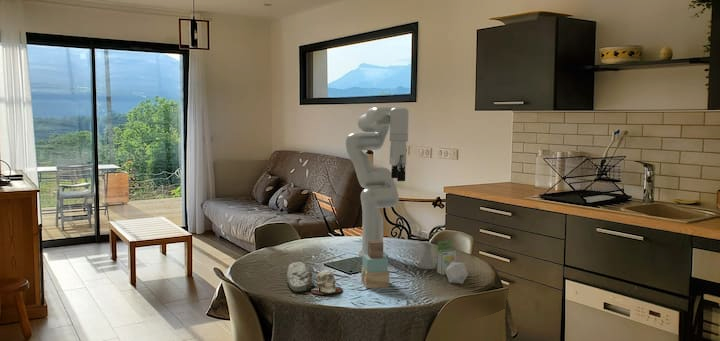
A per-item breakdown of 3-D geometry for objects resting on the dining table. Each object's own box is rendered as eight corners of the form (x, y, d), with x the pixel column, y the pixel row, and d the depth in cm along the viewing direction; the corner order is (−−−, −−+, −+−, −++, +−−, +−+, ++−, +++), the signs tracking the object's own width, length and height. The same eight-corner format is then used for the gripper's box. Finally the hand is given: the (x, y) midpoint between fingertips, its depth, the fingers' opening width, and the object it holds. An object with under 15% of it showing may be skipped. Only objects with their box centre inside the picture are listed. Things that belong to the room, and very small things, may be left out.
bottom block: (361, 281, 231) (361, 266, 230) (383, 280, 232) (383, 265, 232) (366, 288, 222) (366, 273, 221) (389, 287, 224) (389, 271, 223)
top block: (362, 267, 229) (362, 254, 229) (382, 265, 231) (382, 253, 231) (367, 272, 222) (367, 259, 221) (387, 271, 224) (387, 258, 223)
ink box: (442, 275, 239) (442, 243, 237) (436, 273, 242) (437, 241, 241) (456, 273, 242) (456, 241, 240) (450, 271, 245) (451, 239, 244)
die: (456, 288, 224) (471, 268, 225) (438, 274, 228) (453, 254, 228) (459, 290, 232) (474, 270, 232) (442, 276, 235) (456, 257, 236)
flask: (435, 270, 247) (435, 247, 246) (417, 269, 248) (418, 246, 247) (436, 266, 254) (437, 243, 253) (419, 264, 255) (420, 242, 254)
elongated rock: (308, 270, 250) (285, 272, 249) (308, 258, 250) (284, 260, 248) (315, 291, 216) (287, 294, 214) (314, 277, 215) (286, 280, 214)
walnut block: (367, 255, 228) (367, 239, 227) (380, 254, 229) (380, 239, 228) (370, 258, 223) (370, 242, 223) (383, 257, 224) (383, 242, 223)
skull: (349, 291, 214) (331, 272, 211) (329, 312, 213) (310, 293, 210) (340, 281, 226) (322, 263, 222) (320, 300, 224) (302, 282, 221)
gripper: (385, 136, 248) (384, 177, 250) (395, 139, 231) (394, 182, 233) (402, 136, 249) (401, 176, 251) (413, 139, 232) (412, 182, 234)
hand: (398, 179), depth 242 cm, fingers open, 9 cm apart
